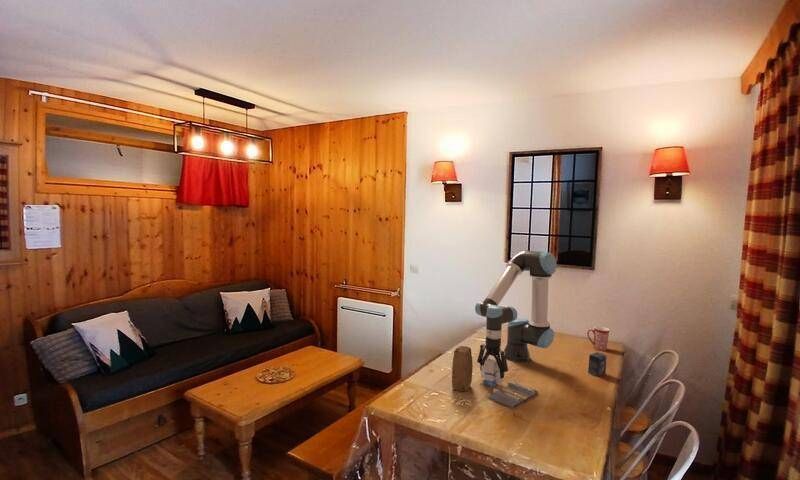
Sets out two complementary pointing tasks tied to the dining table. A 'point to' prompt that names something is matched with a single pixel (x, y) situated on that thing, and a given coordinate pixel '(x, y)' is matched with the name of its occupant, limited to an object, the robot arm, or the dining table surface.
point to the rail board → (512, 395)
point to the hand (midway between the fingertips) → (491, 380)
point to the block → (462, 368)
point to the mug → (600, 338)
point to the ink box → (491, 372)
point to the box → (597, 364)
